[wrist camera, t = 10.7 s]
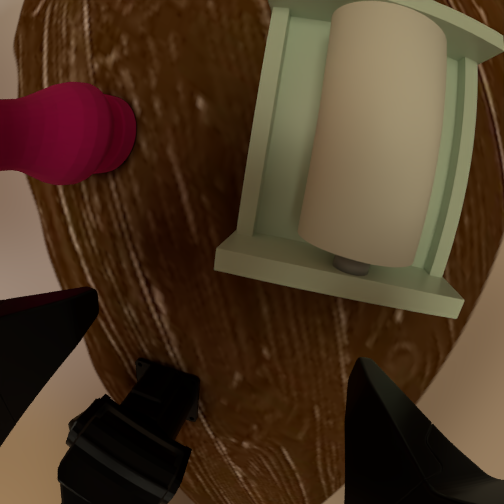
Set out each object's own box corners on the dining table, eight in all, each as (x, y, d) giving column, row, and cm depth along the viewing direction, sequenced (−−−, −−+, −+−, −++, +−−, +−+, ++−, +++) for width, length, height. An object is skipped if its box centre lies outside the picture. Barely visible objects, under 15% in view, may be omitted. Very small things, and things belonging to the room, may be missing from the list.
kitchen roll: (329, 34, 14) (335, -18, 8) (423, 60, 14) (465, 25, 8) (298, 225, 18) (292, 256, 12) (393, 246, 18) (427, 285, 12)
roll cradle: (425, 287, 19) (453, 325, 14) (237, 247, 21) (213, 276, 16) (465, 53, 13) (502, 30, 8) (277, 3, 15) (265, -39, 10)
